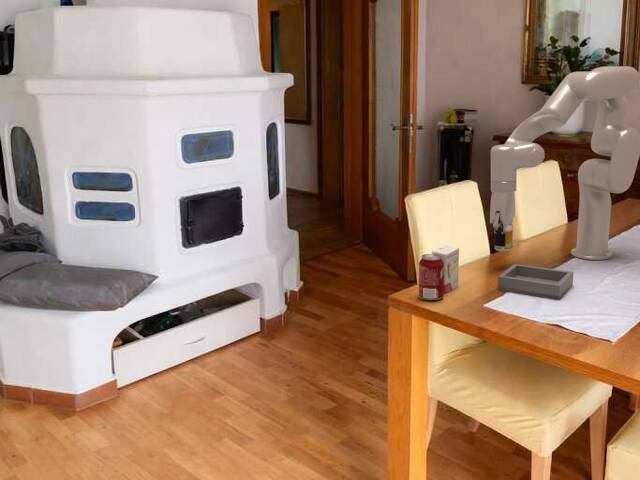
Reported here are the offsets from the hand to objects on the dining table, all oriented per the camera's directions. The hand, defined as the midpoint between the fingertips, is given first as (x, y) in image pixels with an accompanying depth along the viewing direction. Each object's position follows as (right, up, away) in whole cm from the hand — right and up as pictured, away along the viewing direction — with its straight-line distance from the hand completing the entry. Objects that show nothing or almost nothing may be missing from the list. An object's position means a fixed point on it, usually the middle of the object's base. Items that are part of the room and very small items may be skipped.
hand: (503, 242), depth 204 cm
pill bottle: (0, -2, +1) cm, 2 cm away
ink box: (-21, -13, -15) cm, 29 cm away
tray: (+4, -13, -17) cm, 22 cm away
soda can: (-26, -15, -22) cm, 38 cm away
